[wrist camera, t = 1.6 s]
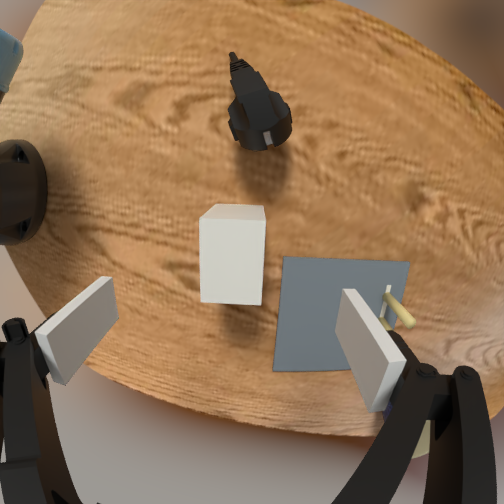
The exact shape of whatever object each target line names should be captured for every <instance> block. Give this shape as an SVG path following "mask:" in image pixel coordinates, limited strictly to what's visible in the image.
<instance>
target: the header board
mask: <svg viewBox="0 0 504 504" xmlns="http://www.w3.org/2000/svg"><path fill="white" fill-rule="evenodd" d="M409 266H410V262H406V261H381V260H357V259H332V258H309V257H286V256H283V267H282V279H281V291H280V302H279V313H278V323H277V333H276V343H275V353H274V362H273V371H328V370H347V369H351V368H350V365H349V363H348V361H347V358H346V356H345V354H344V351H343V349H342V347H341V344H340V342H339V340H338V337H337V335H336V333H335V328H336V323H337V317H338V312H339V307H340V301H341V296H342V290H343V289H356V290H357V292H358V293H359V294H360V296H361V297H362V298H363V300H364V301H365V302H366V304H367V305H368V306H369V308H370V309H371V311H372V312H373V313H374V315H375V316H376V317H377V319H378V320H379V322H380V323H381V324H382V326H383V327H384V329H385V330H393V331H394V327H395V323H396V320H397V316H398V317H399V319H400V320H401V321H402V322H403V323H404V325H405V326H406V327H407V328H408V329H411V328H413V327H414V326H415V324H416V320H415V319H414V318H413V317H412V316H411V315H410V314H409V313H408V311H407V310H406V309H405V308H404V307H403V306H402V305H401V301H402V297H403V293H404V289H405V285H406V280H407V276H408V271H409ZM394 332H395V331H394Z"/></svg>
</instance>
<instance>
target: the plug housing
mask: <svg viewBox="0 0 504 504" xmlns="http://www.w3.org/2000/svg"><path fill="white" fill-rule="evenodd" d="M199 232H200V291H201V302H208V303H225V304H244V305H261V298H262V286H263V269H264V251H265V233H266V218H265V213H264V207H263V205H241V204H215V205H214V206H213V207H212V208H211V209H209V210H208V211H207V212H206V213H205V214H204V215H203V216H202V217H200V221H199Z"/></svg>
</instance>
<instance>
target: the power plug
mask: <svg viewBox="0 0 504 504" xmlns="http://www.w3.org/2000/svg"><path fill="white" fill-rule="evenodd" d="M229 56H230V58H231V60H232V62H230V74H231V78H232V79H231V80H230V82H231V85H232V87H233V90H234V92H235V94H236V98H235V99H234V101H233V102H232V103H231V105H230V106H229V108H228V112H229V115H230V120H229V121H228V123H229V127H230V129H231V132H232V134H233V136H234V139H235V141H237V140H239V142H240V145H241V146H242V147H243V148H246V149H249V150H252V151H254V152H257V151H261V150H267V145H269V144H274V146H275V147H277V146H279V145H280V144H282V143H283V142H285V141H286V140H287V139H288V138H289V136H290V135H291V132H292V125H291V123H292V117H291V111H290V108H289V106H288V104H287V103H285V102H284V101H283V99H282V98H281V96H280V94H279V93H277V92H273V91H270V90H269V88H268V87H267V85H266V83H265V81H264V80H263V78H262V76H261V75H260V73H259V72H258V71H257V72H255V71H254V69H253V67H251V66H250V65H249V64H248V63H247V62H246V61H244V60H243V59H239V60H238V58H237V56H236V54H235V53H234V52H230V53H229Z"/></svg>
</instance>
